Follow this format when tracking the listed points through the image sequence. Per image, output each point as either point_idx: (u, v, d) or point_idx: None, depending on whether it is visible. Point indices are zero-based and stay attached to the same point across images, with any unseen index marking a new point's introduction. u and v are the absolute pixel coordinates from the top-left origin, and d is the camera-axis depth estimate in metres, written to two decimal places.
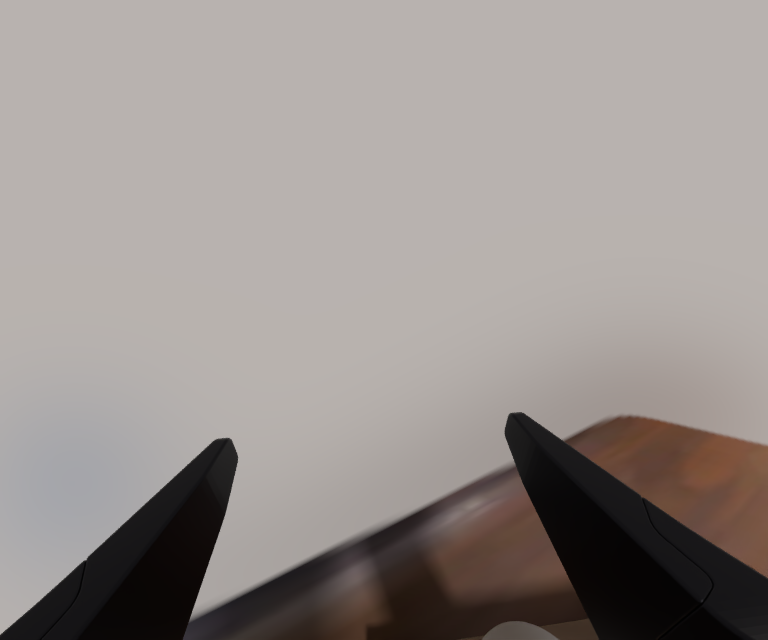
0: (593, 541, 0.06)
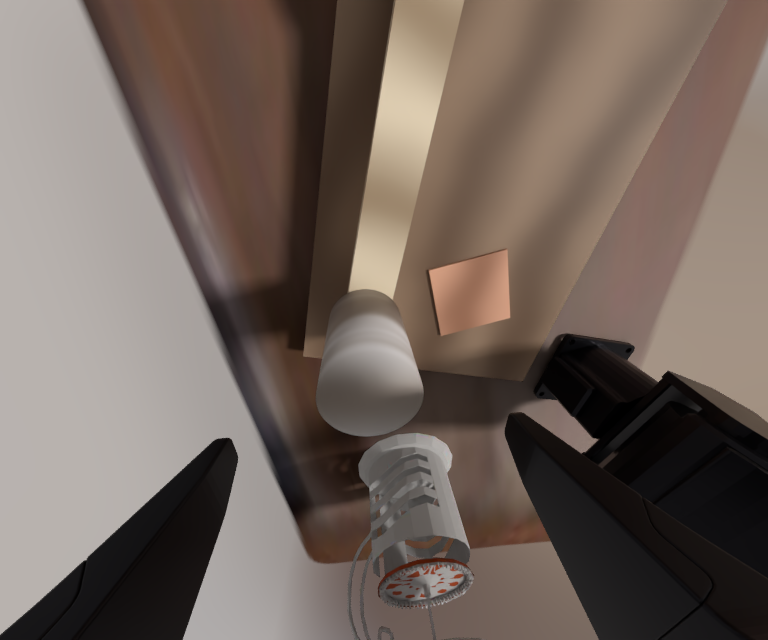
0: (593, 541, 0.06)
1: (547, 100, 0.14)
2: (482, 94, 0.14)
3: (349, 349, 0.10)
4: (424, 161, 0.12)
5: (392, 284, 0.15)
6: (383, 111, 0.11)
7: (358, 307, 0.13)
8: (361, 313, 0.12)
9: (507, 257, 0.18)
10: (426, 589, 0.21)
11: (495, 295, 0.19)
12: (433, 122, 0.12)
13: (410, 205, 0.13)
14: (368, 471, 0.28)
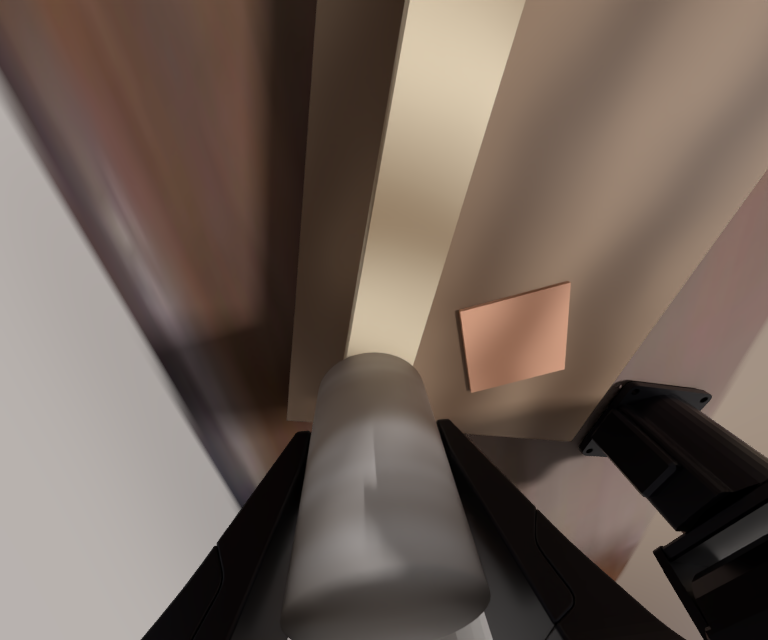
0: (488, 554, 0.06)
1: (655, 62, 0.09)
2: (557, 52, 0.09)
3: (347, 534, 0.05)
4: (475, 157, 0.07)
5: (413, 345, 0.10)
6: (408, 65, 0.06)
7: (362, 398, 0.08)
8: (367, 415, 0.07)
9: (569, 293, 0.13)
10: None
11: (548, 342, 0.14)
12: (495, 87, 0.07)
13: (447, 229, 0.08)
14: None
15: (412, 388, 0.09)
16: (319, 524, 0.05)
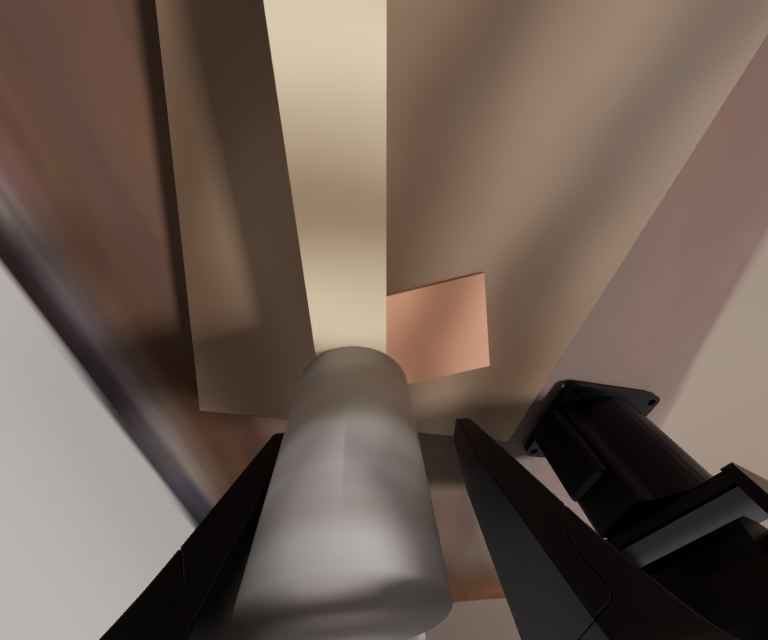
0: (517, 550, 0.06)
1: (550, 26, 0.08)
2: (435, 11, 0.08)
3: (279, 542, 0.05)
4: (384, 119, 0.07)
5: (380, 333, 0.09)
6: (280, 37, 0.06)
7: (321, 396, 0.08)
8: (321, 414, 0.07)
9: (484, 284, 0.12)
10: None
11: (467, 336, 0.13)
12: (383, 34, 0.06)
13: (378, 205, 0.07)
14: None
15: (378, 378, 0.08)
16: (262, 532, 0.05)
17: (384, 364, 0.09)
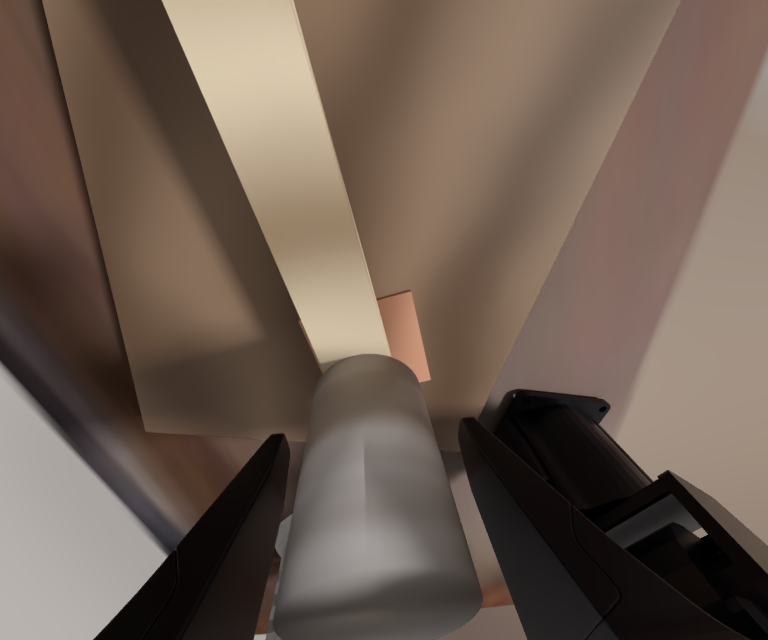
0: (523, 549, 0.06)
1: (441, 62, 0.09)
2: (328, 50, 0.08)
3: (300, 554, 0.05)
4: (325, 137, 0.07)
5: (378, 337, 0.10)
6: (212, 91, 0.06)
7: (329, 410, 0.08)
8: (331, 427, 0.07)
9: (413, 302, 0.12)
10: None
11: (404, 352, 0.13)
12: (303, 60, 0.06)
13: (342, 218, 0.08)
14: (282, 549, 0.22)
15: (383, 382, 0.09)
16: (288, 547, 0.06)
17: (388, 367, 0.09)
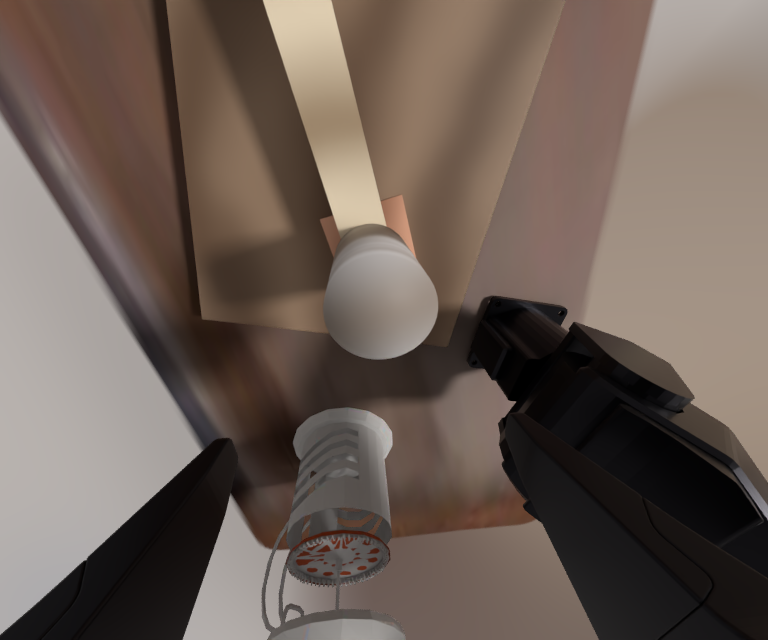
0: (593, 541, 0.06)
1: (416, 17, 0.13)
2: (341, 10, 0.13)
3: (337, 270, 0.10)
4: (343, 57, 0.11)
5: (378, 209, 0.14)
6: (278, 28, 0.11)
7: (347, 241, 0.12)
8: (349, 243, 0.12)
9: (404, 204, 0.17)
10: (338, 564, 0.19)
11: None
12: (331, 7, 0.11)
13: (354, 114, 0.12)
14: (302, 449, 0.27)
15: (381, 230, 0.13)
16: (328, 281, 0.10)
17: (385, 227, 0.14)
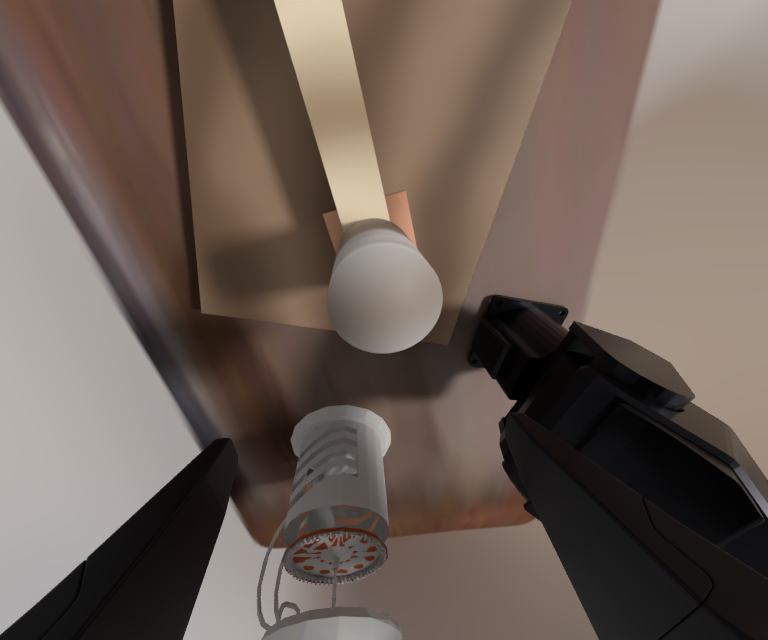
0: (593, 541, 0.06)
1: (424, 12, 0.13)
2: (349, 3, 0.13)
3: (341, 261, 0.10)
4: (350, 49, 0.11)
5: (382, 204, 0.14)
6: (285, 17, 0.11)
7: (351, 234, 0.12)
8: (353, 236, 0.12)
9: (407, 200, 0.17)
10: (335, 562, 0.19)
11: None
12: None
13: (359, 107, 0.12)
14: (299, 446, 0.27)
15: (385, 224, 0.13)
16: (332, 273, 0.10)
17: (389, 222, 0.14)
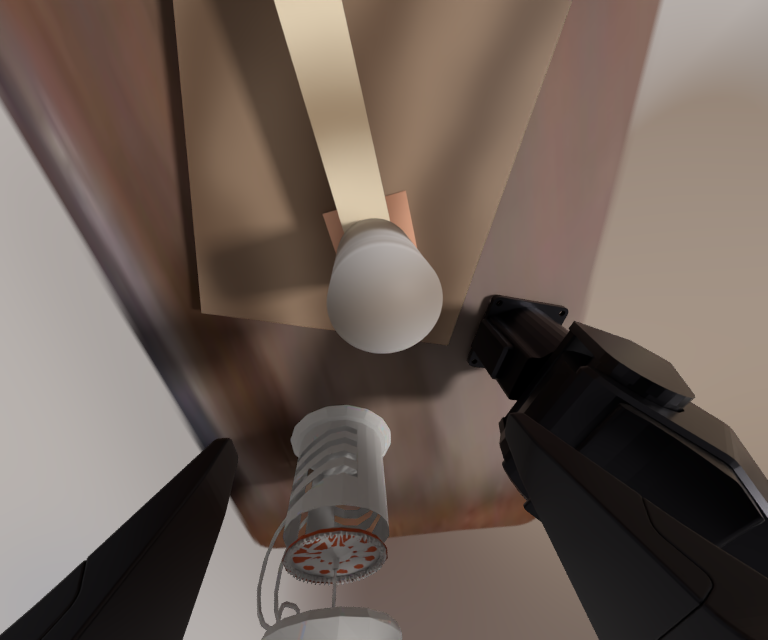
0: (593, 541, 0.06)
1: (424, 12, 0.13)
2: (349, 3, 0.13)
3: (341, 261, 0.10)
4: (350, 49, 0.11)
5: (382, 204, 0.14)
6: (285, 17, 0.11)
7: (351, 234, 0.12)
8: (353, 236, 0.12)
9: (407, 200, 0.17)
10: (335, 562, 0.19)
11: None
12: None
13: (359, 107, 0.12)
14: (299, 446, 0.27)
15: (385, 224, 0.13)
16: (332, 273, 0.10)
17: (389, 222, 0.14)
